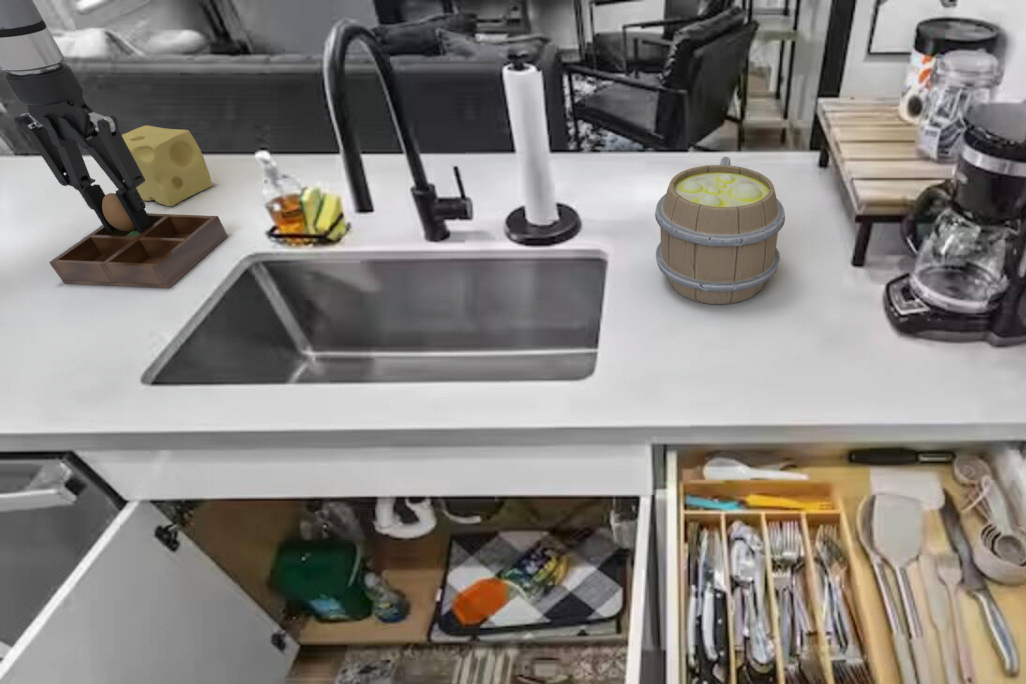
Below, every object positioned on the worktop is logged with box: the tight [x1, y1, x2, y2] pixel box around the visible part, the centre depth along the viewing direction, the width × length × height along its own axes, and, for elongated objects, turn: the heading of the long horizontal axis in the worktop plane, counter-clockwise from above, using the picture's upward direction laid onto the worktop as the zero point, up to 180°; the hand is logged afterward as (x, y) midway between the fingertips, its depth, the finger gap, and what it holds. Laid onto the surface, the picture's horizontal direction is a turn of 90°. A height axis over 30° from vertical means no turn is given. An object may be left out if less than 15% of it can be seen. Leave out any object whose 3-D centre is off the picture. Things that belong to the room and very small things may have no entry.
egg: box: [102, 192, 136, 232], centre depth 105 cm, size 4×4×6 cm
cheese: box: [121, 124, 214, 207], centre depth 120 cm, size 10×11×10 cm
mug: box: [654, 156, 786, 306], centre depth 100 cm, size 19×25×15 cm
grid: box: [49, 212, 229, 289], centre depth 105 cm, size 16×16×4 cm
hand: (130, 228), depth 107 cm, fingers closed on egg, 4 cm apart
